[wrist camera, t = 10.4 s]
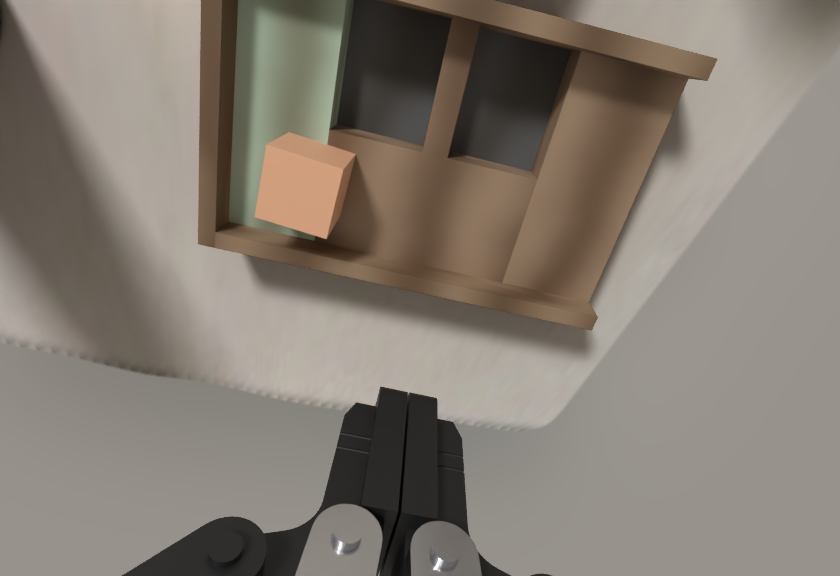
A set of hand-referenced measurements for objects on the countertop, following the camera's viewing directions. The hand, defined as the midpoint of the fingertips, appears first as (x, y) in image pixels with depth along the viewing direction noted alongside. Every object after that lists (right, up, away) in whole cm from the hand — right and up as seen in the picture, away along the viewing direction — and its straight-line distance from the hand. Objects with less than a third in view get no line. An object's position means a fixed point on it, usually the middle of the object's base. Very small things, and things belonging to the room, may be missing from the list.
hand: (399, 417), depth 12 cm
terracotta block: (-6, +10, +16) cm, 20 cm away
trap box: (+2, +12, +17) cm, 21 cm away
